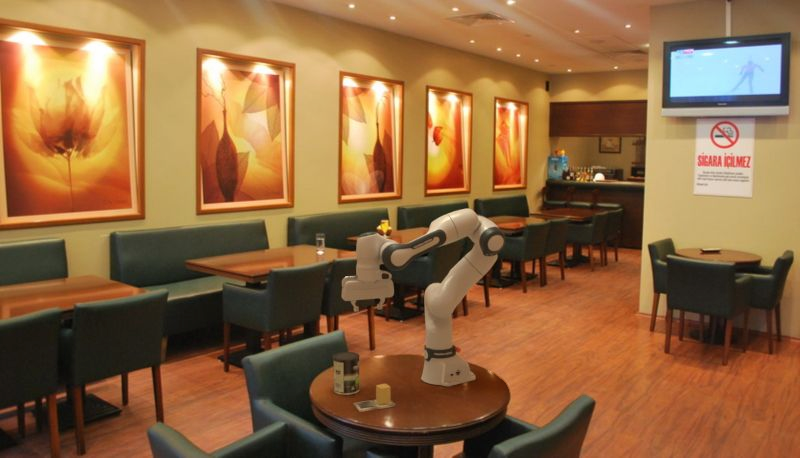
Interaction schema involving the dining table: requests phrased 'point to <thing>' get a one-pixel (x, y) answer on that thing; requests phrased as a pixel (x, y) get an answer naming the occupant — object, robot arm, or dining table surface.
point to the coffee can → (346, 373)
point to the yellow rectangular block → (383, 393)
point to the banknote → (371, 405)
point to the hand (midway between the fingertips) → (368, 310)
